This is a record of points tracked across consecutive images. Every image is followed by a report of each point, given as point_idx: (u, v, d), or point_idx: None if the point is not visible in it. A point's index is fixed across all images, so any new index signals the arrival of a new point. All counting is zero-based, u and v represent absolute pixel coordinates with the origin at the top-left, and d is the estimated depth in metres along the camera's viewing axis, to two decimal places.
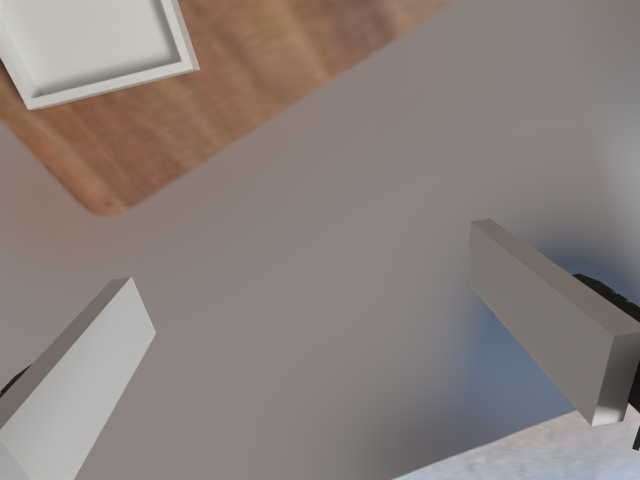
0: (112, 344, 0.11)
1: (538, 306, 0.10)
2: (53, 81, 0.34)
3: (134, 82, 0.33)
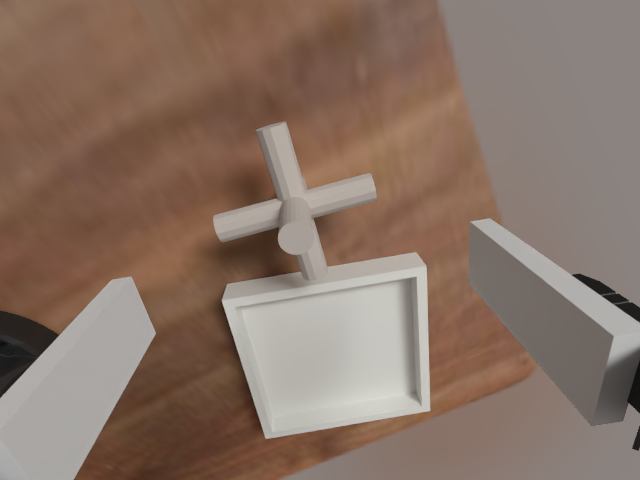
0: (112, 344, 0.11)
1: (538, 306, 0.10)
2: (403, 382, 0.35)
3: (426, 324, 0.30)
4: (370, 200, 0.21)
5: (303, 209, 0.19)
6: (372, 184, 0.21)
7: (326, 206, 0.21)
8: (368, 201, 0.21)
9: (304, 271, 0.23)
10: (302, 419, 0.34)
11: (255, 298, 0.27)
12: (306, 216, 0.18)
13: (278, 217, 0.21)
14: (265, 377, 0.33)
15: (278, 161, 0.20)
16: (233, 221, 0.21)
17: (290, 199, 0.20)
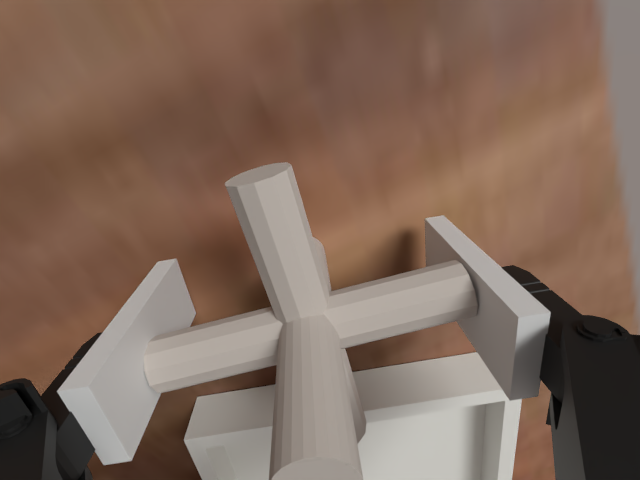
0: (165, 319, 0.12)
1: None
2: None
3: (511, 462, 0.19)
4: (461, 318, 0.11)
5: (330, 370, 0.08)
6: (470, 291, 0.10)
7: (373, 333, 0.10)
8: (457, 320, 0.11)
9: None
10: None
11: (239, 436, 0.17)
12: (340, 405, 0.08)
13: (274, 354, 0.10)
14: None
15: (273, 251, 0.09)
16: (183, 361, 0.10)
17: (299, 327, 0.10)
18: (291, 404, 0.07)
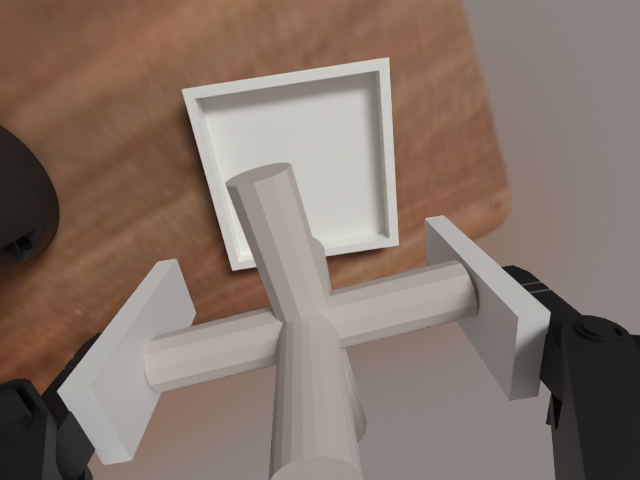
0: (165, 319, 0.12)
1: None
2: (372, 218, 0.34)
3: (391, 133, 0.29)
4: (461, 318, 0.11)
5: (330, 370, 0.08)
6: (470, 291, 0.10)
7: (373, 333, 0.10)
8: None
9: None
10: None
11: (215, 88, 0.27)
12: (339, 405, 0.08)
13: (274, 354, 0.10)
14: (231, 203, 0.33)
15: (273, 251, 0.09)
16: (183, 361, 0.10)
17: (299, 326, 0.10)
18: (291, 404, 0.07)
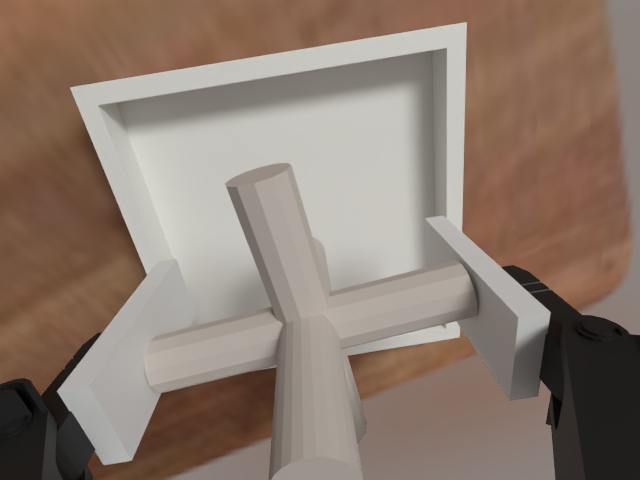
0: (165, 318, 0.12)
1: None
2: None
3: (461, 162, 0.16)
4: (461, 319, 0.11)
5: (330, 371, 0.08)
6: (470, 292, 0.10)
7: (373, 333, 0.10)
8: (457, 320, 0.11)
9: None
10: None
11: (136, 85, 0.14)
12: (339, 405, 0.08)
13: (274, 354, 0.10)
14: (186, 276, 0.20)
15: (273, 251, 0.09)
16: (183, 361, 0.10)
17: (300, 327, 0.10)
18: (291, 404, 0.07)
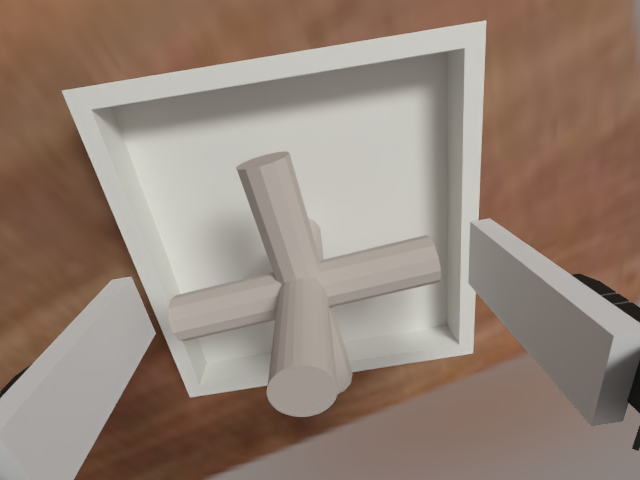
0: (112, 344, 0.11)
1: (538, 306, 0.10)
2: (426, 305, 0.20)
3: (478, 170, 0.15)
4: (429, 283, 0.13)
5: (317, 315, 0.11)
6: (435, 259, 0.12)
7: (355, 293, 0.13)
8: (425, 284, 0.13)
9: None
10: (253, 366, 0.20)
11: (131, 88, 0.13)
12: (322, 337, 0.10)
13: (274, 309, 0.13)
14: (186, 288, 0.19)
15: (274, 222, 0.11)
16: (200, 313, 0.13)
17: (295, 285, 0.12)
18: (285, 335, 0.10)
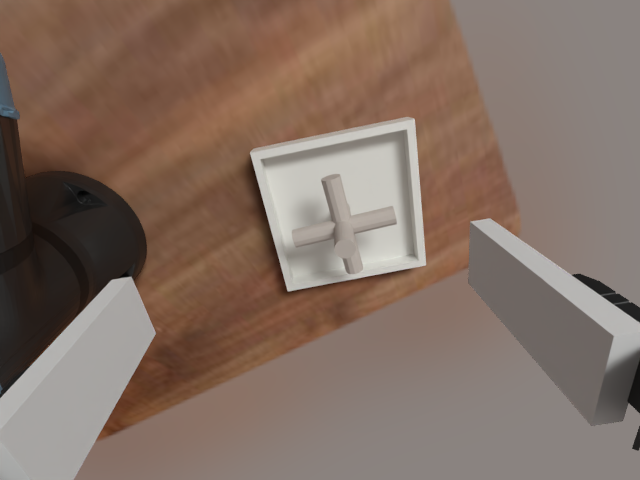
0: (112, 344, 0.11)
1: (538, 306, 0.10)
2: (402, 243, 0.41)
3: (418, 176, 0.36)
4: (392, 224, 0.33)
5: (349, 230, 0.31)
6: (394, 214, 0.33)
7: (363, 227, 0.33)
8: (391, 224, 0.33)
9: (347, 268, 0.35)
10: (317, 276, 0.41)
11: (276, 150, 0.34)
12: (351, 235, 0.30)
13: (332, 233, 0.33)
14: (286, 236, 0.40)
15: (334, 199, 0.32)
16: (304, 235, 0.34)
17: (341, 222, 0.33)
18: (339, 234, 0.30)
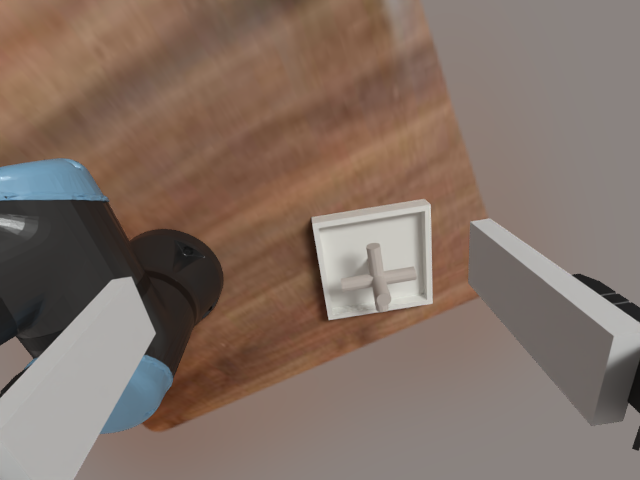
0: (112, 344, 0.11)
1: (538, 306, 0.10)
2: (415, 286, 0.54)
3: (430, 242, 0.50)
4: (413, 279, 0.47)
5: (385, 285, 0.45)
6: (415, 273, 0.46)
7: (393, 280, 0.47)
8: None
9: (377, 307, 0.49)
10: (351, 309, 0.54)
11: (331, 222, 0.47)
12: (387, 289, 0.44)
13: (371, 284, 0.47)
14: (329, 279, 0.53)
15: (375, 261, 0.46)
16: (350, 284, 0.47)
17: (378, 277, 0.46)
18: (379, 288, 0.44)
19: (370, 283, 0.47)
